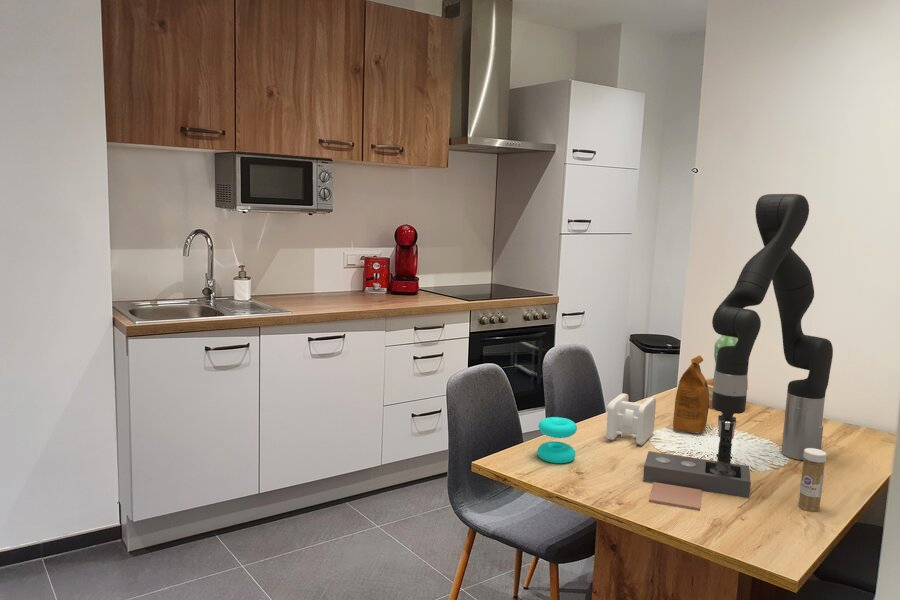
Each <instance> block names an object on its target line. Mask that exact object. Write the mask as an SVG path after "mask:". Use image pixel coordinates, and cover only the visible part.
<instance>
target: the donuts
mask: <svg viewBox="0 0 900 600" xmlns="http://www.w3.org/2000/svg"><path fill="white" fill-rule="evenodd" d="M538 430H539V431H540V432H541V434H543V435H544V436H546V437H549V438H554V439H565V438H567V439H568V438H571V437H572V436H574V435H575V434H576V432H577V431H578V425H577V424H576V422H574V421H573V420H571V419H569V418H565V417H561V416H560V417H559V416H551V417H545V418H543V419H541V420H540V421H539V422H538ZM536 453H537V455H538V457H539V459H541V460H542V461H545V462H547V463H551V464H566V463H570V462H572V461H573V460H575V457H576V451H575V449H574V447H572V445H570V444H568V443H566V442H562V441H557V440H556V441H546V442H543V443H542V444H540V445H539V446H538V447H537V451H536Z"/></svg>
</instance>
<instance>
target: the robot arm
mask: <svg viewBox="0 0 900 600" xmlns="http://www.w3.org/2000/svg"><path fill="white" fill-rule="evenodd" d="M809 214H810V205H809V201H808V199H807V198H806V197H805V196H804V194H803V195H802V194H798V193H768V194H764V195H762V196H760V197H759V198H758V199H757V202H756V205H755V220H756V224H757V228H758V229H757V230H758V232H759V234H760V235H759V236H760V238H761V241H762V244H763V246H764V247H763V248H762V249H760V250H759V251H758V252H756V253H755V254H754V255H753V256H752V257H751V258H749V260H748V261H747V262H746V263H745V265H744V266H743V268H742V270H741V272H740V274H739V276H738V279H737V280H736V283H735V285H734V287H733V289H732V290H731V291H730V293H729V294H727V296H726V298H725V299H724V300H723V301H722V302H721V303H720V304H719V305H718V307H717V308H716V310H715V311H714V313H713V316H712V321H711V323H712V324H711V325H712V328H713V330H714V332H715V333H716V334H718V335H720V336H722V335H724V336H729V337H735V338H738V341H737V343H736V345H735V346H724V347H721V348H720V349H719V350H718V354H717V364H716V363H715V365H716V373H715V377H714V376H713V378H714V385H713V395H712V408H711V409H712V410H715V411H717V412H721V414H718V418H717V427H718V433H717V435H718V437H719V442H718V446H719V445H720V452H719V461H720V462H726V463H728V462H729V454H730V448H731V449H732V447H731V446H733V443H732V440H733V439H734V436H735V428H736V425H737V417H736V416H734V415H735V414H738V415H739V414H743V413H745V411H746V404H747V396H748V395H747V394H748V389H747V386H749V384H748V383H749V381H748V380H749V379H748V372H749V363H750V361H749V360H750V357H751V356H750V355H751V354H752V350H753V348H754V345H755V342H756V340H757V338H758V336H759V333H760V331H761V326H762V321H761V317H760V315H759V314H758V312H757V311H755V310H753V309H748V307H753V306H755V307H756V306H758V305H761V304H762V303H763V301H764V299H765V297H766V294H767V292H768V290H769V287H770V286H771V282H772V285H773V291H774V292H773V293H774V296H775V300H776V304H777V310H778V315H779V319H780V326H781V335H782V338H781V339H782V347H783V355H784V359H785V361H786V363H787V364H788V365H789V366H790V367H794V368H797V369H800V370H801V369H802V370H805V371H809V372H808V375H807V377H805V378H803V379H794V380H791V381H789V382H788V384H787V393H786V401H785V411H784V423H783V431H782V441H781V442H782V443H781V454H782V455H783V456H785V457H787V458H790V459H793V460H799V461H804V457H803V454H804V450H805V449H806V448H815V449H819V450H822V442H823V433H824V426H823V418H824V411H825V410H824V409H825V400H826V392H827V388H828V386H829V382H830V374H831V368H832V363H833V357H834V353H833V352H834V347H833V344H832V342H831V340H830V339H827V338H824V337H819V336H814V335H813V336H812V335H809V334H808V335H807V334H805V333H804V332H803V328H802V320H803V317H805V314H806V312H807V311H808V309H809V308H810V307H811V304H812V302H813V300H814V298H815V287H814V283H813V278H812V277H813V276H812V273H811V271H810V270H811V269H810V268H809V266H808V265H807V264H806V262H804V260H803V259H802V258H801V257H800V256H799V254H798V253H796V252H795V250H793V249H792V247H793V246H794V244H795V242H796V240H797V239H798V238H799V236H800V234H801V233H802V231H803V230H804V228H805V226H806V224H807V221H808V218H809ZM725 438H726V439H727V441H725V440H724V439H725Z"/></svg>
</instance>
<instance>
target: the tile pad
mask: <svg viewBox="0 0 900 600" xmlns="http://www.w3.org/2000/svg"><path fill="white" fill-rule="evenodd" d="M701 500H702V491H701V490H700V489H693V488H687V487H681V486H675V485H669V484H663V483H656V482H653V483H652V487H651V490H650V495H649V498H648V502H649V503H652V502H654V503H653V504H659V505H666V506H672V507H675V508H676V507H678V508H683V509H688V510H689V509H690V510H695V511H699V512H700V511H701Z"/></svg>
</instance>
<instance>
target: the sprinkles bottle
mask: <svg viewBox="0 0 900 600" xmlns="http://www.w3.org/2000/svg"><path fill="white" fill-rule="evenodd" d="M803 457H804V460H803V463H802V464H803V465H802V470H801V471H802V472H801V478H800V486H799V498H798V500H799V501H798V503H797V505H798V507H799V508H801V509H803V510H805V511H809V512H818V511H820V510H821V500H822V499H821V498H822V494H823V493H822V492H823V483H824V475H825V474H824V473H825V472H824V471H825V464H826V461H827V452H826V451H825V450H822V449H821V450H819V449H815V448H806V449H805V450H804V454H803Z"/></svg>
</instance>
